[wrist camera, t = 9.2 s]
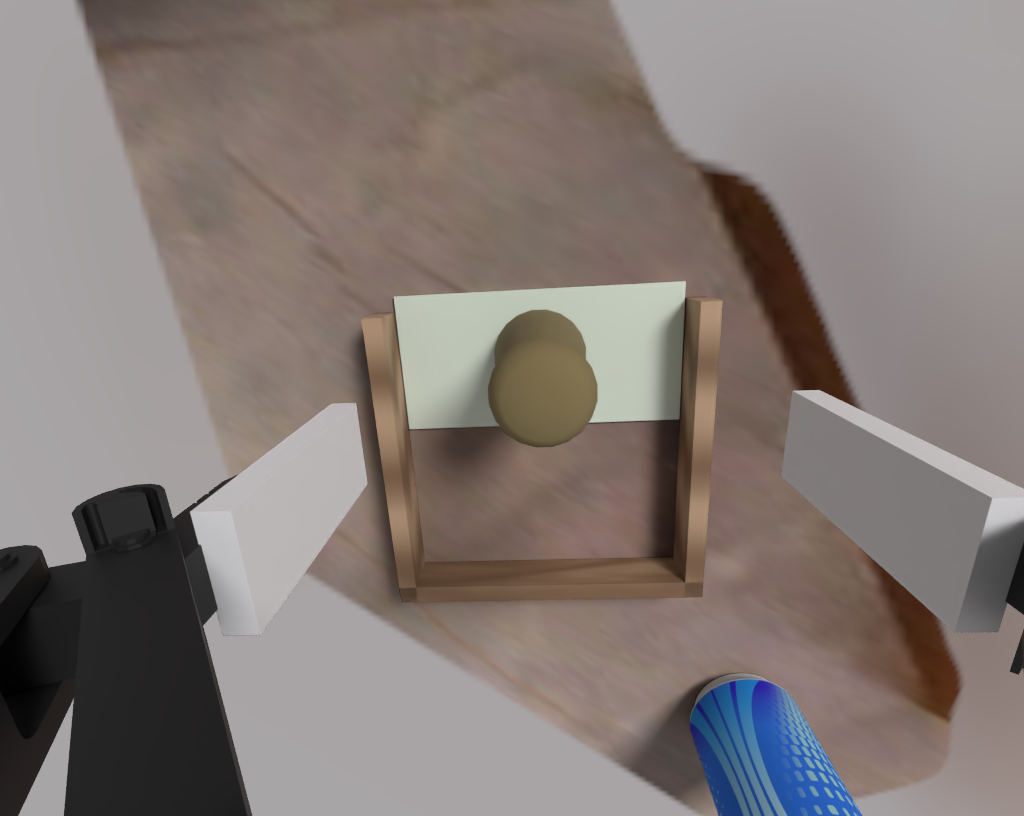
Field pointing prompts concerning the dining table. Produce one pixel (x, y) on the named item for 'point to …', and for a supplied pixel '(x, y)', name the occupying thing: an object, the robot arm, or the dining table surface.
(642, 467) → the dining table surface
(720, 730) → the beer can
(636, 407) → the front pad
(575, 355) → the olive chess pawn
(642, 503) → the dining table surface
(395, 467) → the bay
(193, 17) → the dining table surface
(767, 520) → the dining table surface
